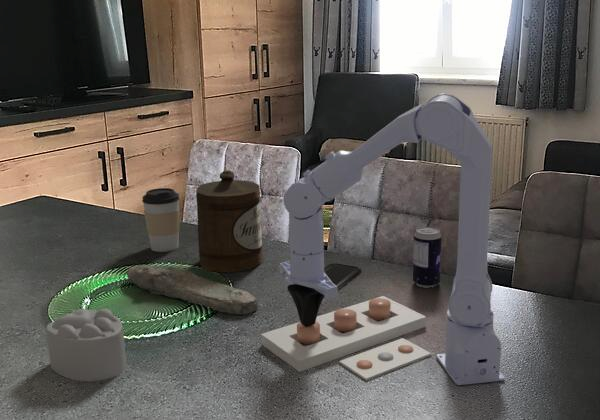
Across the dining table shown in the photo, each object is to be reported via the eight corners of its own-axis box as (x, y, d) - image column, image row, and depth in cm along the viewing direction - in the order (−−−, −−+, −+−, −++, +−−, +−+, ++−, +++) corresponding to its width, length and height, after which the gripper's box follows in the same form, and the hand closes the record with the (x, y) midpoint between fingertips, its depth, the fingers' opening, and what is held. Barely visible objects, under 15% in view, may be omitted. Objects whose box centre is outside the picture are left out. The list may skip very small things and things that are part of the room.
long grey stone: (237, 329, 130) (268, 313, 138) (237, 304, 128) (269, 289, 136) (113, 283, 149) (147, 271, 156) (113, 260, 147) (147, 250, 155)
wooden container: (255, 274, 153) (251, 178, 147) (191, 271, 155) (185, 177, 149) (268, 252, 167) (265, 164, 161) (210, 250, 169) (204, 163, 163)
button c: (311, 331, 121) (311, 318, 120) (324, 339, 118) (324, 326, 117) (292, 337, 119) (292, 324, 118) (305, 346, 115) (305, 332, 115)
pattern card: (402, 340, 121) (402, 337, 120) (430, 355, 115) (430, 352, 115) (339, 363, 113) (339, 359, 113) (366, 380, 108) (366, 377, 107)
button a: (380, 308, 129) (380, 296, 129) (394, 316, 126) (395, 303, 125) (364, 314, 127) (364, 301, 126) (378, 321, 124) (378, 309, 123)
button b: (347, 319, 125) (347, 307, 124) (361, 327, 122) (361, 314, 121) (329, 325, 123) (329, 312, 122) (343, 333, 120) (343, 320, 119)
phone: (362, 267, 153) (332, 291, 141) (362, 272, 153) (332, 296, 141) (331, 262, 157) (299, 284, 144) (331, 267, 157) (299, 289, 145)
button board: (383, 305, 135) (383, 295, 135) (425, 326, 125) (426, 316, 125) (261, 344, 120) (261, 334, 120) (299, 372, 111) (299, 361, 110)
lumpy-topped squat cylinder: (93, 342, 123) (88, 298, 120) (142, 362, 115) (137, 315, 113) (42, 366, 115) (35, 319, 112) (91, 389, 107) (85, 339, 105)
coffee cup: (143, 245, 174) (137, 188, 170) (177, 239, 178) (173, 183, 174) (151, 255, 166) (146, 196, 162) (187, 249, 170) (183, 191, 166)
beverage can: (439, 290, 142) (441, 235, 138) (412, 288, 143) (413, 234, 140) (439, 279, 147) (441, 226, 144) (413, 278, 148) (414, 225, 145)
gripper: (263, 243, 117) (266, 315, 121) (311, 267, 106) (313, 346, 109) (297, 235, 121) (299, 305, 125) (347, 257, 109) (348, 334, 113)
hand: (308, 324), depth 117 cm, fingers closed
